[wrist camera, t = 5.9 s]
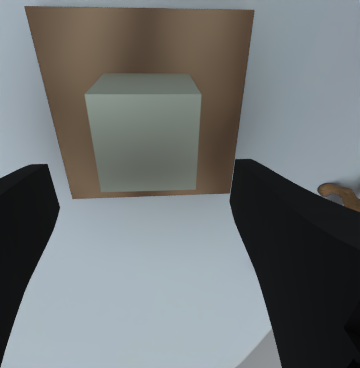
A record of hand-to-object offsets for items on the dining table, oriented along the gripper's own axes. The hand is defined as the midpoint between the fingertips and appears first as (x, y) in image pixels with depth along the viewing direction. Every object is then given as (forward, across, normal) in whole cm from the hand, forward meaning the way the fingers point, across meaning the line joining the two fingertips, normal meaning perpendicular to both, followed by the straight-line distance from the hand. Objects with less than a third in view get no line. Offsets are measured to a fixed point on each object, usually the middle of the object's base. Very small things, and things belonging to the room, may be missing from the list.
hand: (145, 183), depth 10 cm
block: (+8, 0, 0) cm, 8 cm away
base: (+10, 0, 0) cm, 10 cm away
